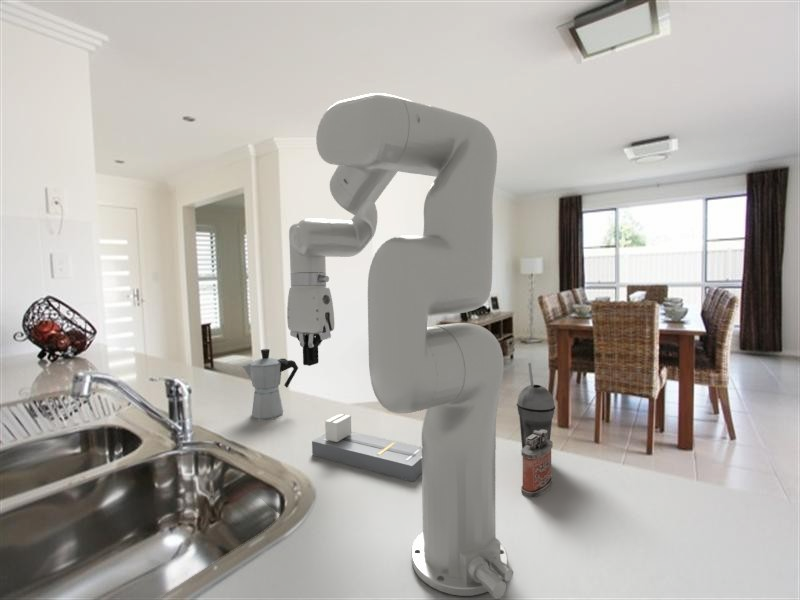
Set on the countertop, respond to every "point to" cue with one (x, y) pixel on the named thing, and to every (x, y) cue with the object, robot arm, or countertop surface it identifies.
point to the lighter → (536, 464)
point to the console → (372, 454)
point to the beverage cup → (535, 409)
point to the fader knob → (338, 427)
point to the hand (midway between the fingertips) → (310, 363)
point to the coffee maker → (268, 384)
